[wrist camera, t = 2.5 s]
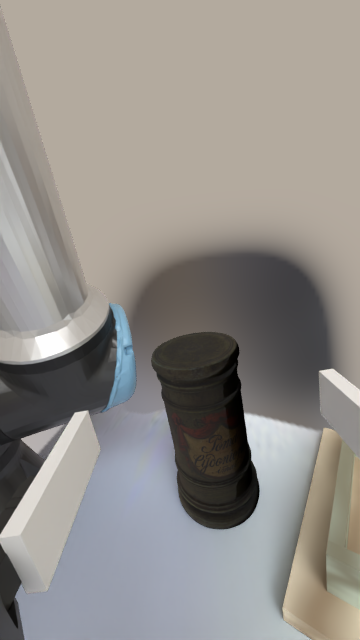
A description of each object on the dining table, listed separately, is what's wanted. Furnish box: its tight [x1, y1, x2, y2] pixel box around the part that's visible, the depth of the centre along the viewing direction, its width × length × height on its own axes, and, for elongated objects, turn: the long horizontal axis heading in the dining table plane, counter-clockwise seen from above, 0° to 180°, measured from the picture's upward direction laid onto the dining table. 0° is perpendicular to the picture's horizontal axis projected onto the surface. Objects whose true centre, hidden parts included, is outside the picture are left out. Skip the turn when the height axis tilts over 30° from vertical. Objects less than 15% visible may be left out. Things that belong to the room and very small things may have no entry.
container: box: [151, 332, 259, 529], centre depth 27 cm, size 9×9×18 cm
